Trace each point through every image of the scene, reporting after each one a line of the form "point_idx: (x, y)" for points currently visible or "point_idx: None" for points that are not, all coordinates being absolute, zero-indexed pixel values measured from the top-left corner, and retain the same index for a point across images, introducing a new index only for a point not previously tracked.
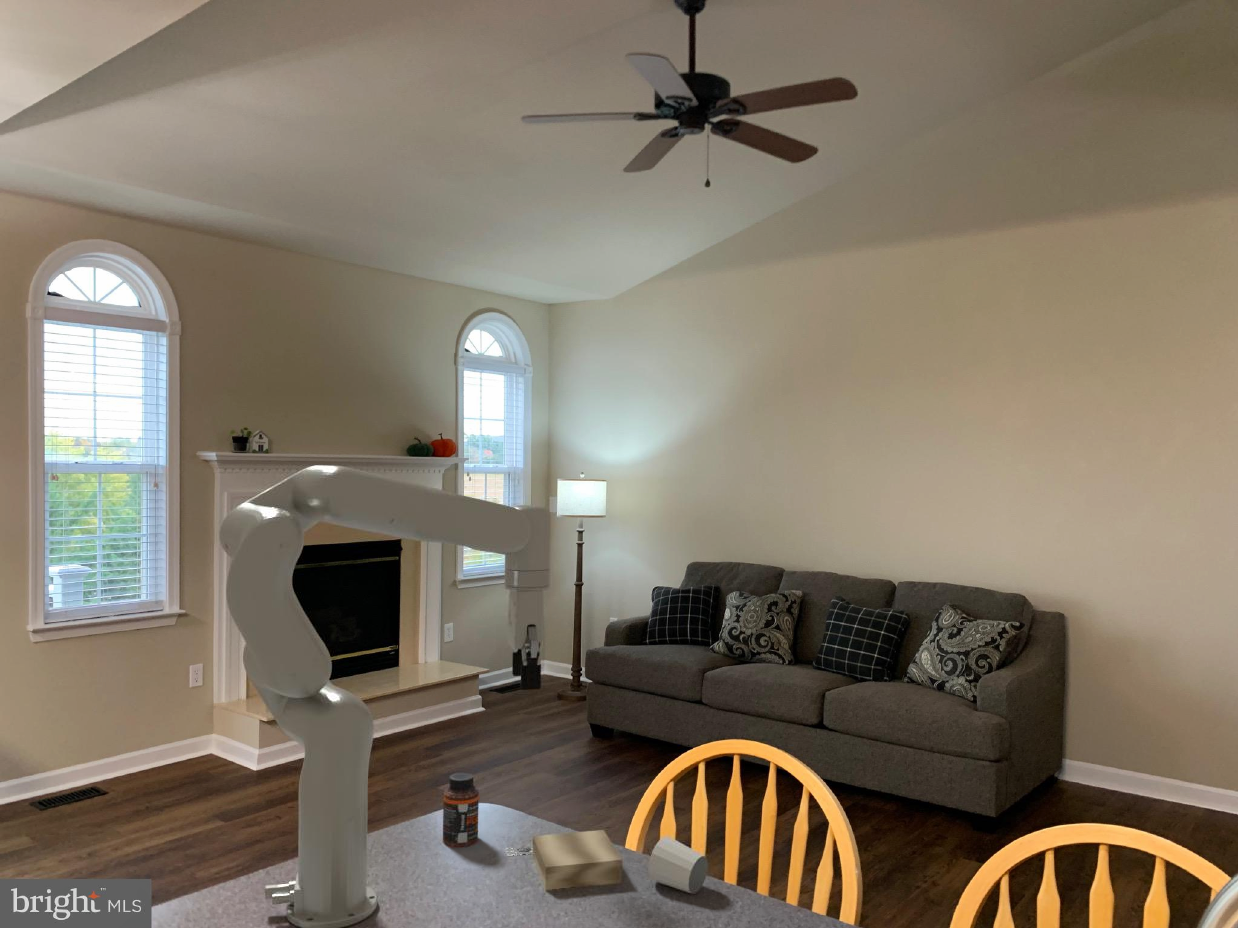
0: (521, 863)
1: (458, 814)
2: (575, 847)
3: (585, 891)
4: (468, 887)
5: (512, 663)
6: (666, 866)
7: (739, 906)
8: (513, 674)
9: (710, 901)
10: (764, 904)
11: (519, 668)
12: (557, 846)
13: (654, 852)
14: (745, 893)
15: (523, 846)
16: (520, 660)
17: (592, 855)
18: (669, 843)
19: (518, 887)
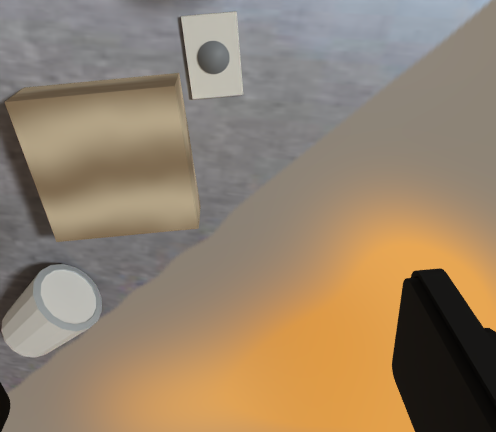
0: (151, 46)
1: None
2: (110, 169)
3: None
4: None
5: (483, 339)
6: (20, 301)
7: (3, 345)
8: (422, 275)
9: None
10: (13, 369)
11: (419, 353)
12: (115, 135)
13: (31, 298)
14: (44, 357)
15: (227, 57)
16: (452, 423)
17: (72, 196)
18: (39, 328)
19: (32, 32)
